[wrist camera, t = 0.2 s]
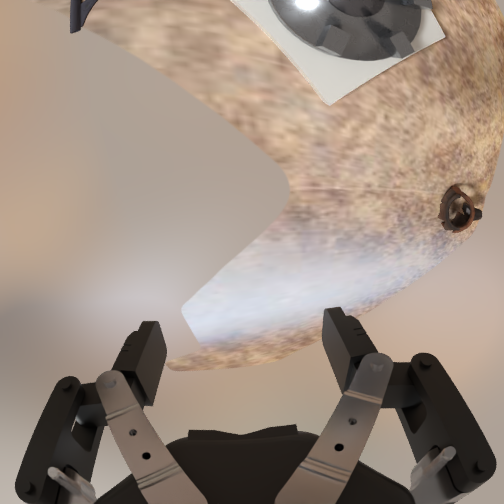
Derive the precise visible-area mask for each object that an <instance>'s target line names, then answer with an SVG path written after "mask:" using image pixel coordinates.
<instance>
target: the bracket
mask: <svg viewBox="0 0 504 504" xmlns="http://www.w3.org/2000/svg"><path fill="white" fill-rule="evenodd" d="M96 2H97V0H85V1H84V2H83V3H81V0H71V7H70V33H76V32H78V31H80V30H81V27H82V26H83V24H84V22H85V19H86V17H87V15H88V13H89V11H90V10H91V8H92V7H93V5H94V4H95V3H96Z"/></svg>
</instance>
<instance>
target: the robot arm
mask: <svg viewBox="0 0 504 504" xmlns="http://www.w3.org/2000/svg"><path fill="white" fill-rule="evenodd" d="M322 341H323V346H324V349H325V351H326V354H327V356H328V359H329V361H330V364H331V366H332V369H333V372H334V374H335V377H336V379H337V382H338V385H339V387H340V390H341V392H342V394H343V396H342V397H341V399H340V401H339V403H338V405H337V407H336V409H335V411H334V412H333V414H332V416H331V418H330V419H329V421H328V423H327V425H326V426H325V428H324V430H323V432H322V433H321V435H320V436H318V435H316V434H312V433H309V432H303V431H297V426H296V424H294V425H286V426H277V427H269V428H266V429H262V430H259V431H256V432H252V433H248V434H244V435H238V434H232V433H226V432H221V431H216V430H189V432H188V437H185V438H181V439H178V440H175V441H173V442H171V443H169V444H167V445H166V446H165V445H164V444H163V442H162V441H161V439H160V438H159V436H158V435H157V433H156V431H155V430H154V428H153V427H152V425H151V424H150V422H149V420H148V419H147V417H146V415H145V414H144V412H143V408H144V406H153V403H154V399H155V395H156V392H157V388H158V385H159V381H160V377H161V374H162V370H163V366H164V363H165V360H166V356H167V355H166V354H167V348H166V344H165V341H164V337H163V334H162V331H161V328H160V324H159V322H158V321H143V322H142V323H141V325H140V327H139V330H138V331H134V332H132V333H131V334H130V335H129V336H128V337H127V339H126V341H125V343H124V346H123V347H122V349H121V351H120V353H119V355H118V357H117V359H116V361H115V363H114V365H113V368H112V369H111V370H110V371H106V372H104V373H102V374H101V375H100V376H99V377H98V378H97V380H96V382H95V383H87V384H81V383H80V381H79V380H78V379H77V378H76V377H73V376H68V377H64V378H63V379H61V380H60V381H58V383H57V384H56V386H55V388H54V390H53V392H52V394H51V396H50V398H49V400H48V402H47V404H46V406H45V408H44V410H43V412H42V415H41V417H40V419H39V421H38V424H37V426H36V428H35V430H34V433H33V435H32V438H31V440H30V442H29V445H28V447H27V450H26V453H25V455H24V458H23V461H22V464H21V466H20V470H19V472H18V475H17V478H16V482H15V490H16V493H17V495H18V497H19V498H20V499H21V500H23V501H24V502H25V503H27V504H454V503H455V502H457V501H459V500H460V499H462V498H463V497H465V496H466V495H468V494H469V493H471V492H472V491H474V490H475V489H476V488H478V487H479V486H481V485H482V484H483V483H485V482H486V481H487V480H489V479H490V478H491V477H492V475H493V474H494V472H495V470H496V458H495V456H494V454H493V452H492V450H491V448H490V446H489V444H488V442H487V440H486V438H485V436H484V434H483V432H482V430H481V429H480V427H479V425H478V423H477V421H476V420H475V418H474V416H473V414H472V413H471V411H470V409H469V408H468V406H467V405H466V402H465V401H464V399H463V398H462V396H461V394H460V393H459V391H458V389H457V388H456V386H455V385H454V383H453V382H452V380H451V378H450V377H449V375H448V374H447V373H446V371H445V369H444V368H443V366H442V365H441V363H440V362H439V361H438V359H437V358H436V357H435V356H433V355H431V354H429V353H418V354H416V355H415V356H413V358H412V359H411V362H401V363H399V362H398V363H397V362H393V361H392V360H391V358H390V357H389V356H387V355H385V354H382V353H378V351H377V349H376V348H375V346H374V344H373V343H372V341H371V340H370V338H369V336H368V335H367V334H366V331H365V330H364V329H363V327H362V325H361V324H360V322H359V320H357V319H356V318H354V317H353V316H351V315H350V316H346V315H345V314H344V312H343V310H342V309H341V307H335V308H327V309H325V310H324V316H323V328H322ZM380 408H395V409H396V411H397V414H398V416H399V419H400V421H401V423H402V426H403V428H404V431H405V433H406V436H407V439H408V441H409V444H410V446H411V449H412V452H413V454H414V457H415V460H416V462H417V465H416V466H415V467H414V468H413V470H412V472H411V488H410V490H408V489H407V488H406V487H404V486H403V485H401V484H399V483H397V482H395V481H393V480H392V479H390V478H388V477H386V476H384V475H383V474H381V473H379V472H377V471H376V470H374V469H372V468H371V467H369V466H367V465H365V464H364V463H362V462H360V461H359V458H360V455H361V453H362V451H363V449H364V447H365V444H366V442H367V440H368V438H369V435H370V433H371V431H372V428H373V426H374V423H375V421H376V418H377V416H378V413H379V410H380ZM75 419H76V422H75V425H74V427H73V430H72V426H73V423H74V421H75ZM104 426H109V427H110V430H111V432H112V435H113V437H114V439H115V441H116V443H117V445H118V447H119V449H120V451H121V453H122V455H123V457H124V459H125V461H126V463H127V465H128V467H129V469H130V470H131V472H132V474H130V475H129V476H128V477H126V478H125V479H124V480H123V481H121V482H120V483H119V484H117V485H116V486H115V487H113V488H112V489H111V490H109V491H108V492H107V493H105V494H104V495H103V496H101V497H100V498H98V499H96V497H95V490H94V488H93V486H92V485H91V484H90V481H91V477H92V472H93V468H94V464H95V460H96V456H97V452H98V448H99V444H100V440H101V436H102V433H103V430H104ZM71 430H72V432H71Z"/></svg>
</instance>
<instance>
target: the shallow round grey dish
mask: <svg viewBox="0 0 504 504" xmlns="http://www.w3.org/2000/svg"><path fill="white" fill-rule="evenodd" d="M268 2H269V4H270V6H271V8H272V11H273V12H274V14H275V15H276V17H277V18H278V20H279V21H280V22H281V23H282V24H283V25H284V27H285V28H286V29H287V30H288V31H290V32H291V33H292V34H293V35H294V36H295V37H297V38H298V39H299V40H300V41H302V42H304V43H305V44H307V45H308V46H310V47H312V48H314V49H316V50H318V51H320V52H323V53H325V54H328V55H331V56H334V57H338V58H343V59H350V60H360V61H375V60H382V59H386V58H389V57H393V58H400V59H403V58H404V57H406V56H408V55H410V54H412V53H413V52H415V51H414V49H413V47H412V46H411V44H410V43H411V42H412V41H413V40H414V38H415V36H416V34H417V32H418V30H419V27H420V22H421V10H423V9H433V8H432V2H431V0H268Z"/></svg>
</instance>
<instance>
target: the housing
mask: <svg viewBox="0 0 504 504" xmlns="http://www.w3.org/2000/svg"><path fill="white" fill-rule="evenodd" d="M230 1H231V2H232V3H234V4H235V5H236V6H237V7H238V8H239V9H240V10H241V11H242V12H244V13H245V14H246V15H247V16H248V17H249V18H250V19H251V20H252V21H253V22H254V23H255V24H256V25H257V26H258V27H259V28H260V29H261V30H262V31H263V32H264V33H265V34H266V35H267V36H268V37H269V38H270V39H271V40H272V41H273V42H274V43H275V44H276V45H277V47H278V48H279V49H280V50H281V51H282V52H283V53H284V54H285V55H286V57H287V58H288V59H289V60H290V61H291V62H292V63H293V65H294V66H295V67H296V68H297V69H298V70H299V72H300V73H301V74H302V75H303V77H304V78H305V79H306V80H307V82H308V83H309V84H310V85H311V87H312V88H313V89H314V90H315V92H316V93H317V94H318V96H319V97H320V98H321V100H322V101H323V102H324V103H326V104H328V105H329V106H330V105H331V104H333V103H334V102H336V101H337V100H339V99H340V98H342V97H343V96H345V95H346V94H348V93H349V92H351V91H353V90H354V89H356V88H357V87H359V86H360V85H362V84H364V83H365V82H367V81H368V80H370V79H372V78H373V77H375V76H376V75H378V74H380V73H381V72H383V71H385V70H386V69H388V68H390V67H391V66H393V65H395V64H397V63H398V62H400V61H402V60H404V59H405V58H407V57H409V56H411V55H412V54H414V53H416V52H418V51H420V50H422V49H424V48H425V47H427V46H429V45H431V44H433V43H435V42H437V41H439V40H441V39H443V38H445V35H444V33H443V31H442V29H441V27H440V25H439V23H438V21H437V20H436V18H435V16H434V14H433V13H432V11H431V9H423V10H421V22H420V27H419V30H418V32H417V34H416V36H415V38H414V40H413V41H412V42H411V43H410V44H411V46H412V47H413V49H414V51H415V52H413V53H412V54H410V55H408V56H406V57H404V58H403V59H400V58H393V57H389V58H386V59H382V60H375V61H360V60H350V59H343V58H338V57H334V56H331V55H328V54H325V53H323V52H320V51H318V50H316V49H314V48H312V47H310V46H308V45H307V44H305V43H304V42H302V41H300V40H299V39H298V38H297V37H295V36H294V35H293V34H292V33H291V32H290V31H288V30H287V29H286V28H285V27H284V25H283V24H282V23H281V22H280V21H279V20H278V18H277V17H276V15H275V14H274V12H273V11H272V8H271V6H270V4H269V2H268V0H230Z"/></svg>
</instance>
